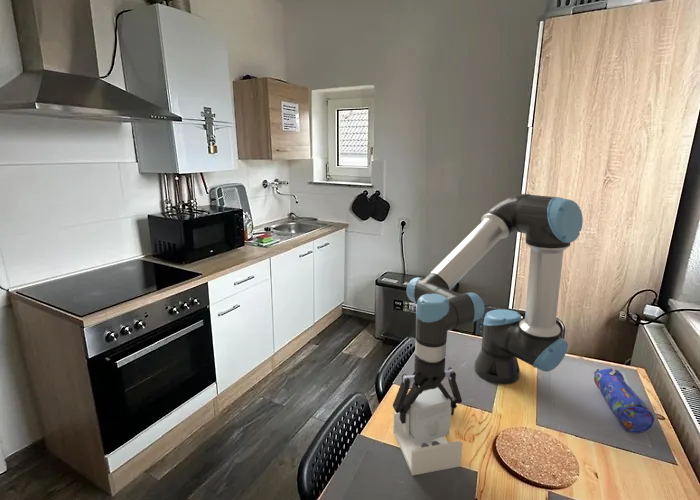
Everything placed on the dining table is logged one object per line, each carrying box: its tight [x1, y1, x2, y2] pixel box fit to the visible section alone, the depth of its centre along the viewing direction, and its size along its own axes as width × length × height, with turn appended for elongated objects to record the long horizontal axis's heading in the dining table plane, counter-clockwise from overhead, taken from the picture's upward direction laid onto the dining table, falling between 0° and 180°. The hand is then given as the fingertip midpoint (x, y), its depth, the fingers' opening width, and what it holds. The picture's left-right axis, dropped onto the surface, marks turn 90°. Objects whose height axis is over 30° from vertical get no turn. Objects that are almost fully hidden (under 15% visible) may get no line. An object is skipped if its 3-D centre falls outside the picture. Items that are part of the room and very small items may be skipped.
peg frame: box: [392, 410, 463, 476], centre depth 101 cm, size 13×15×7 cm
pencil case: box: [593, 368, 655, 434], centre depth 115 cm, size 22×9×10 cm, turn 166°
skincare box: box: [408, 388, 451, 445], centre depth 100 cm, size 10×6×10 cm, turn 110°
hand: (426, 428), depth 101 cm, fingers closed on skincare box, 11 cm apart
